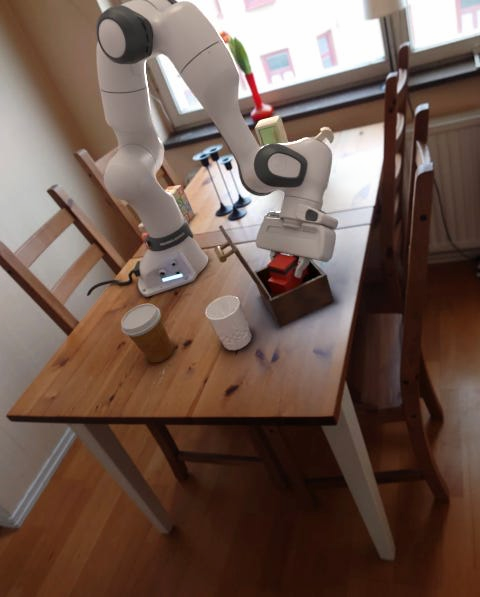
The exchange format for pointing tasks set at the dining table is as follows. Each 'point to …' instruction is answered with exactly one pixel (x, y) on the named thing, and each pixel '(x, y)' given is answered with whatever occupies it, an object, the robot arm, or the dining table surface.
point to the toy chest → (297, 295)
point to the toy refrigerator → (271, 131)
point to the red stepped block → (285, 274)
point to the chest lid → (223, 258)
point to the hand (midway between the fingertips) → (285, 274)
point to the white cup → (229, 322)
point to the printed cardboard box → (181, 201)
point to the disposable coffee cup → (147, 331)
